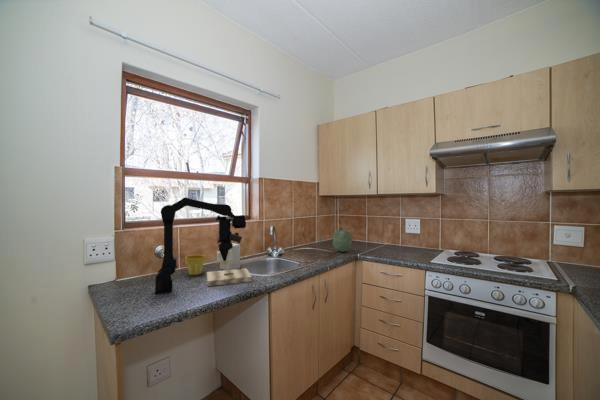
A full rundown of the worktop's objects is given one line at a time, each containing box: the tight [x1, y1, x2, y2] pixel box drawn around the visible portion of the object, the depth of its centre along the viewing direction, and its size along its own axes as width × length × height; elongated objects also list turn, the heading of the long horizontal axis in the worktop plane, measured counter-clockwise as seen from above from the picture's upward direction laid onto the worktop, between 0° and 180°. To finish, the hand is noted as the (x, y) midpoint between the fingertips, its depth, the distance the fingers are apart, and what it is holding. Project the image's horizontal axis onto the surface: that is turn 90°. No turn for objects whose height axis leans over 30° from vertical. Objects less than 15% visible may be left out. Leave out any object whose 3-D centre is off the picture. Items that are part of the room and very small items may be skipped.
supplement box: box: [219, 242, 241, 271], centre depth 150 cm, size 9×9×15 cm
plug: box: [216, 250, 232, 265], centre depth 123 cm, size 7×5×6 cm, turn 111°
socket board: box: [206, 267, 253, 287], centre depth 130 cm, size 22×16×2 cm
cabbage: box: [332, 228, 353, 253], centre depth 205 cm, size 16×19×20 cm
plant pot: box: [184, 254, 206, 276], centre depth 139 cm, size 10×10×10 cm
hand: (224, 259), depth 123 cm, fingers closed on plug, 5 cm apart
